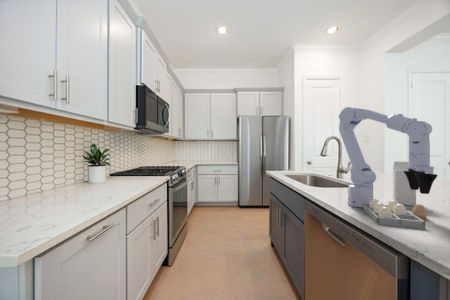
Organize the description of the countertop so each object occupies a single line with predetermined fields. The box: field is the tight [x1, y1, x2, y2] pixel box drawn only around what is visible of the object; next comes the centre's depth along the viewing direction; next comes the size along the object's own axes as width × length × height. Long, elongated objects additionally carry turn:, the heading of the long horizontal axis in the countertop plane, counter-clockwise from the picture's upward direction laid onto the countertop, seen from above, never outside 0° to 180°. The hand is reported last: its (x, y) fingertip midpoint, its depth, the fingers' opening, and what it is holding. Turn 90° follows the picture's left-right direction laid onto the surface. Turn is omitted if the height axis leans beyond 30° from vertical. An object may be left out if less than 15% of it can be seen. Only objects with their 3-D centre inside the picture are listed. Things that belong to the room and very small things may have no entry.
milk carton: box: [392, 161, 417, 207], centre depth 98 cm, size 7×7×19 cm
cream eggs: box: [369, 198, 408, 218], centre depth 79 cm, size 10×16×5 cm, turn 159°
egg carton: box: [362, 204, 426, 229], centre depth 79 cm, size 13×19×2 cm
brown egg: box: [411, 203, 428, 220], centre depth 79 cm, size 4×4×5 cm
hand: (419, 191), depth 78 cm, fingers open, 7 cm apart
